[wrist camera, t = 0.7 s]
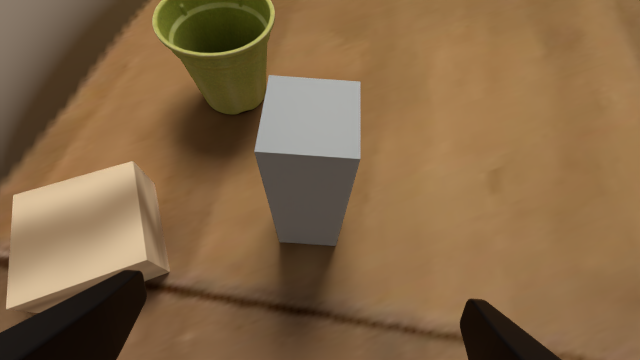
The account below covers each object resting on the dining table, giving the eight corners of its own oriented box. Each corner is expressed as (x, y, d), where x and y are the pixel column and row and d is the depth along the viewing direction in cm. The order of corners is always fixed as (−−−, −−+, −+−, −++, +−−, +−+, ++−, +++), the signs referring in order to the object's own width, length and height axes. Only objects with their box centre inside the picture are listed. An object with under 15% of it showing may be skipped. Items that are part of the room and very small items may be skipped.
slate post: (335, 246, 24) (360, 159, 13) (279, 242, 24) (254, 151, 13) (337, 195, 27) (360, 81, 15) (285, 191, 27) (269, 75, 15)
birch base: (171, 272, 23) (146, 259, 20) (55, 315, 22) (6, 309, 18) (156, 185, 27) (132, 160, 23) (54, 216, 25) (13, 195, 22)
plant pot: (295, 73, 33) (291, -7, 26) (260, 140, 29) (243, 68, 21) (217, 52, 34) (191, -31, 27) (172, 114, 30) (126, 36, 22)
